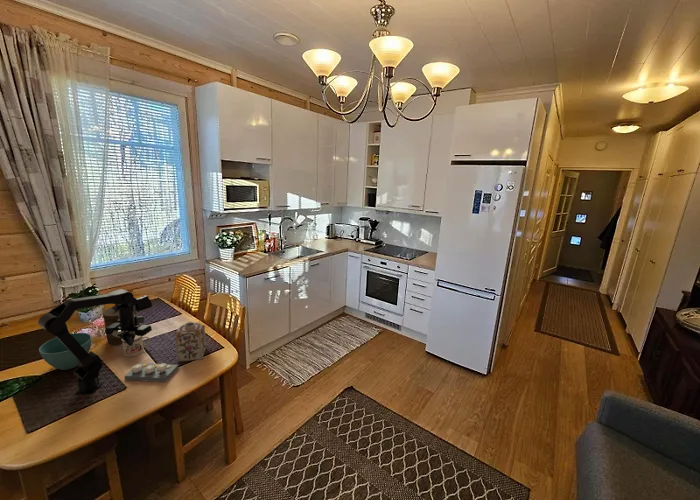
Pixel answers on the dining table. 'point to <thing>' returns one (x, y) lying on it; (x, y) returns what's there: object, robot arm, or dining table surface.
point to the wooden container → (109, 319)
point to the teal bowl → (63, 351)
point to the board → (155, 375)
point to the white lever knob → (161, 368)
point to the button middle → (149, 369)
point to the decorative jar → (190, 342)
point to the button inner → (137, 368)
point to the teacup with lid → (134, 346)
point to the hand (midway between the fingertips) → (131, 345)
